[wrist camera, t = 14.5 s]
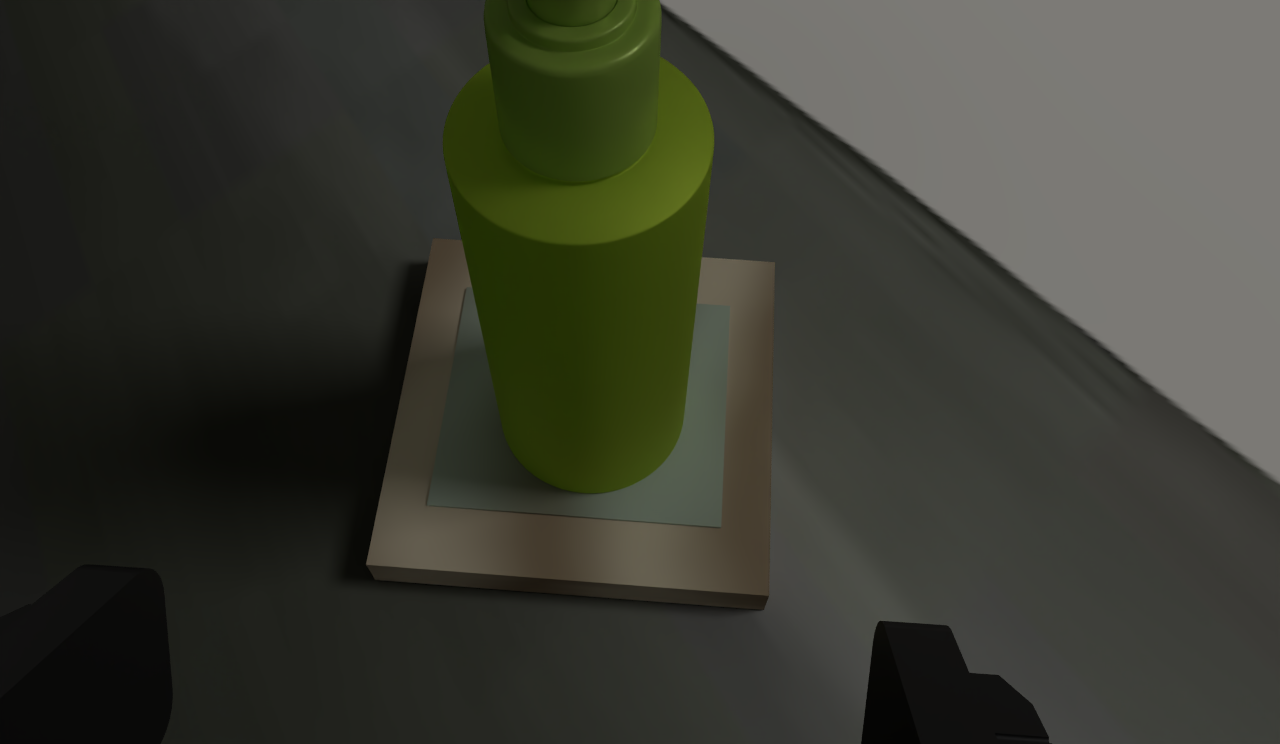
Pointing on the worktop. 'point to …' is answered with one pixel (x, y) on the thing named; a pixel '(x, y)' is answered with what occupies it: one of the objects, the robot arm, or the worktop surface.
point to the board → (570, 521)
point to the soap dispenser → (583, 233)
